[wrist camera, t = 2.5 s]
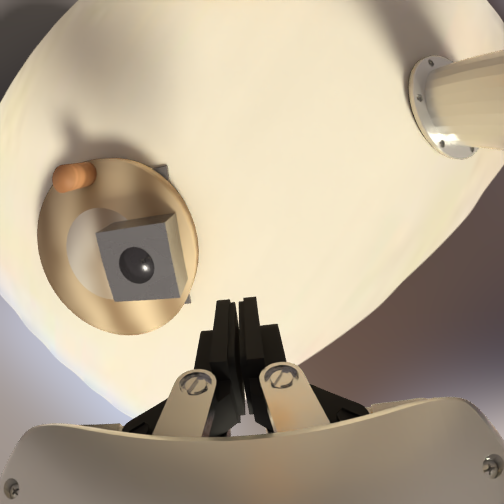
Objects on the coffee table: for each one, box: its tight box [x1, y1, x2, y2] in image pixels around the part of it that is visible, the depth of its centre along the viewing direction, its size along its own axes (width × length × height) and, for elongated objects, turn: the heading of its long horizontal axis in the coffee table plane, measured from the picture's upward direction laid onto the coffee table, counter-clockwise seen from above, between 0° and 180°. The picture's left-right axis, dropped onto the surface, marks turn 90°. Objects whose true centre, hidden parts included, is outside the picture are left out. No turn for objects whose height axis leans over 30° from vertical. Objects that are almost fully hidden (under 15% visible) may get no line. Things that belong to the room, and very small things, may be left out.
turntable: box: [37, 158, 199, 335], centre depth 22 cm, size 18×18×6 cm
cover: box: [95, 213, 188, 302], centre depth 21 cm, size 6×6×4 cm
